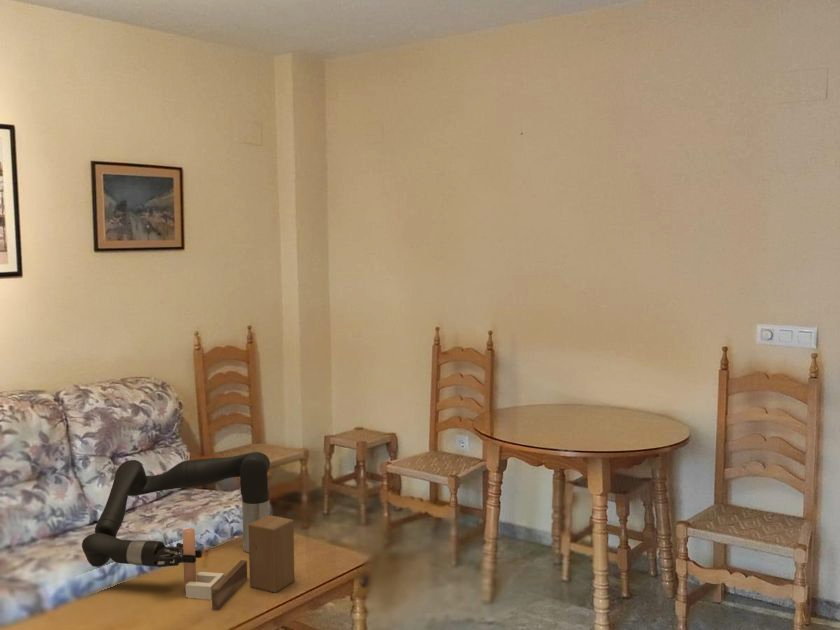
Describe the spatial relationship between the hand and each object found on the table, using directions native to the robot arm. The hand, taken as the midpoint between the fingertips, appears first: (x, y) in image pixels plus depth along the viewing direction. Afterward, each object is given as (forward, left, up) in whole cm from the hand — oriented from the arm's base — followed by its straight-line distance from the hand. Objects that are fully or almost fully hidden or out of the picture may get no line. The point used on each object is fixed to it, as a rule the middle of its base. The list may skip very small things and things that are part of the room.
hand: (198, 556), depth 249 cm
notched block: (-1, +2, -11) cm, 11 cm away
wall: (-7, +8, -11) cm, 15 cm away
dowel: (+2, -2, -10) cm, 10 cm away
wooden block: (-20, +9, -11) cm, 25 cm away
